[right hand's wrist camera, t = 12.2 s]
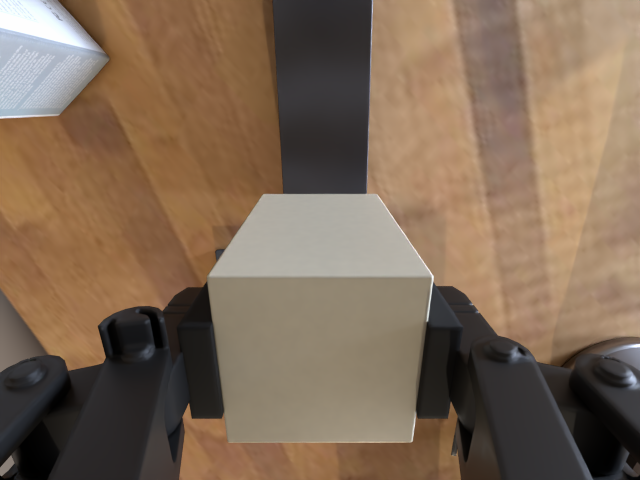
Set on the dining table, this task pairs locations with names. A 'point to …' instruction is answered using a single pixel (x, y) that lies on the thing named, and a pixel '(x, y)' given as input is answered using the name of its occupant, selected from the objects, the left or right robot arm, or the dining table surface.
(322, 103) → the dark grey long block
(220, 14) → the dining table surface
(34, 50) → the hard drive box
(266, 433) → the cap block
